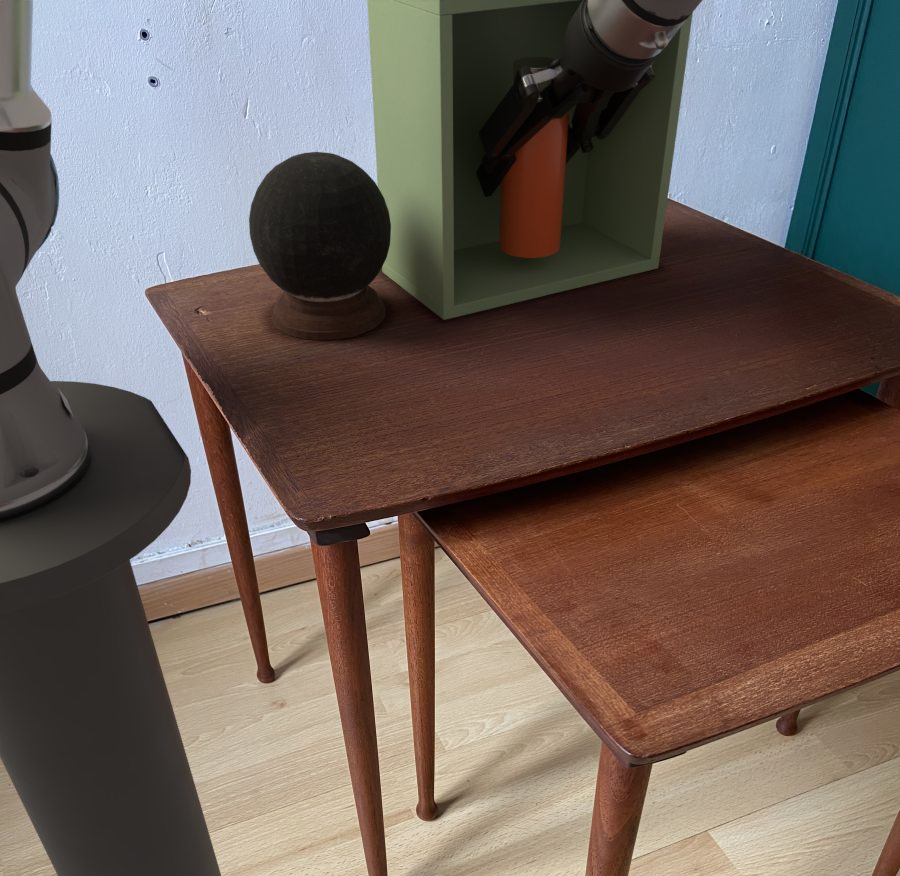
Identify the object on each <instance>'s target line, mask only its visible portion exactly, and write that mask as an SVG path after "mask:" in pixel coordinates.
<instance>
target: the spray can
mask: <svg viewBox="0 0 900 876" xmlns="http://www.w3.org/2000/svg"><path fill="white" fill-rule="evenodd" d="M553 59H554V58H547V57H528V58H521V59H518V60H515V61H514V63H513V84H514V81H515V77H516V73H517V71H518V70H519V69H520V68H521V67H523V66H529V67H530V69H531V71H532V73H537V72H540V71H543V70H546V69H547V67H548V65H549V63H550V62H551V61H552V60H553ZM559 104H560V103H559ZM568 123H569V111H568V112H567V113H566V114H565V115H564V116H563V117H562V118H553V119H552V120H551V121H550V122H549V123H548V124H546V125H545V126H544V127H543V128H542V129H541V130H540V131H539V132H538V133H537V134H535V135H534V136H533V137H532V138H531V139H530V140H529V141H528V142H527V143H526V144H524V145H523V146H522V147H521V148H520V149H519V150H518V151H517V152H516V153H515V157H516V161H515V162H514V164H513V165H512V167H511V168H510V170H509V171H508V173H507V174H506V175H505V177H504V178H503V180H502V181H501V189H500V228H499V248H500V250H501V251H503V252H504V253H506V254H508V255H512V256H516V257H522V258H539V257H546V256H550V255H552V254H555V253H556V252H558V251H559V249H560V242H561V227H562V212H563V197H564V182H565V167H566V152H567V137H568Z"/></svg>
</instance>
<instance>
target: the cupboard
mask: <svg viewBox="0 0 900 876" xmlns="http://www.w3.org/2000/svg"><path fill="white" fill-rule="evenodd" d="M366 1H367V20H368V38H369V39H368V40H369V56H370V73H371V75H370V76H371V88H372V89H371V93H372V110H373V127H374V128H373V129H374V146H375V148H374V149H375V164H376V182H377V183H376V184H377V186H378V188H379V190H380V191H381V193H382V195H383V197H384V199H385V202H386V205H387V208H388V211H389V215H390V222H391V237H390V247H389V251H388V254H387V258H386V260H385V262H384V264H383V266H382V268H381V270H382V273H383V274H384V275H386V276H387V277H388V278H389V279H391V280H392V281H393V282H394V283H396V285H399V286H400V287H401V289H403V290H405V291H406V292H407V293H409V294H410V295H411V296H413V297H414V298H415V299H416V300H417V301H419V302H420V303H421V304H423V305H424V306H425V307H427V308H428V309H429V310H430V311H432V312H433V313H434V314H435V315H437V317H439V318H441V319H442V320H443V321H446V320H449V319H453V318H458V317H462V316H466V315H471V314H474V313H479V312H483V311H487V310H492V309H496V308H499V307H504V306H508V305H511V304H516V303H520V302H524V301H525V302H526V301H529V300H533V299H537V298H540V297H546V296H549V295H554V294H557V293H562V292H565V291H571V290H574V289H579V288H582V287H587V286H591V285H594V284H599V283H604V282H607V281H611V280H615V279H620V278H625V277H628V276H633V275H637V274H640V273H645V272H649V271H652V270H657V269H659V265H660V257H661V252H662V251H661V249H662V243H663V237H664V236H663V234H664V228H665V221H666V215H667V214H666V213H667V205H668V199H669V192H670V191H669V190H670V184H671V177H672V176H671V175H672V171H673V170H672V169H673V162H674V155H675V154H674V153H675V147H676V139H677V132H678V126H679V117H680V109H681V102H682V96H683V88H684V81H685V73H686V66H687V58H688V52H689V51H688V50H689V44H690V36H691V28H692V21H693V16H694V15H693V14H694V12H693V13H692V14H691V15H690V16H689V17H688V19H686V21H685V22H684V23H683V24H682V26H681V27H680V28H679V30H678V31H677V32H676V34H675V35H674V36H673V37H672V39H671V40H670V41H669V43H668V45H667V46H666V47H665V48H664V49H663V50H662V51H661V52H660V53H659V55H658V57H657V58H656V60H655V61H654V62H653V64H652V65H651V66H652V69H653V71H654V74H655V78H654V79H653V80H652V81H651V82H650V83H649V84H647V85H646V86H645V87H644V88H643V89H642V90H641V91H640V92H639V93H638V95H637V96H636V98H635V99H634V100H633V102H632V103H631V105H630V106H629V107H628V109H627V110H626V112H625V113H624V114H623V116H622V117H621V119H620V120H619V121H618V123H617V124H616V126H615V127H614V128H613V130H612V131H611V133H610V134H609V135H608V136H607V137H606V138H604V139H600V140H599V139H598V137H597V136H595V137H592V140H591V141H592V144H593V147H594V148H593V149H592V150H591V151H590V152H588V153H582V150H581V147H580V149H579V150H578V151H577V152H576V154H575V155H574V156H573V157H572V158H571V159H570V160H569V161H568V162H567V164H566V167H565V182H564V197H563V212H562V227H561V242H560V249H559V251H558V252H556V253H555V254H552V255H550V256H546V257H539V258H522V257H516V256H512V255H508V254H506V253H504V252H503V251H501V250H500V248H499V228H500V189H501V183H500V184H499V185H498V187H497V188H496V190H495V191H494V193H493V194H492V195H491V196H487V197H485V196H484V193H483V190H482V188H481V185H480V182H479V179H478V177H477V174H476V171H477V170H478V168H479V167H480V165H481V164H482V158H483V156H484V155H485V150H484V147H483V144H482V142H481V139H480V136H479V131H480V130H481V129H482V127H483V126H484V124H485V123H486V122H487V120H488V119H489V117H490V116H491V115H492V113H493V112H494V110H495V109H496V108H497V106H498V105H499V104H500V102H501V101H502V99H503V98H504V97H505V95H506V94H507V92H508V91H509V90H510V88H511V87H512V85H513V63H514V61H515V60H518V59H521V58H528V57H547V58H556V57H557V56H558V55H559V54H560V53H561V52H562V49H563V45H564V39H565V33H566V29H567V26H568V24H569V22H570V20H571V18H572V17H573V15H574V14H575V12H576V10H577V9H578V7H579V6H580V4H581V3H582V1H583V0H366ZM576 105H577V104H576ZM576 105H575V106H574V107H573V108H572V109H571V110H569V125H570V128H572V127H573V126H572V123H571V121H572V118H573V115H574V111H575V108H576Z"/></svg>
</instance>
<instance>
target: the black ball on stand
mask: <svg viewBox="0 0 900 876" xmlns="http://www.w3.org/2000/svg"><path fill="white" fill-rule="evenodd" d="M250 204H251V205H250V210H249V215H248V216H249V217H248V225H249V238H250V241H251V246H252V250H253V253H254V256H255V257H256V260H257V261H258V264H259V265H260V267H261V268H262V270H263V271H264V273H265V274H266V275H267V276H268V278H269V279H270V280H271V282H273V283H274V284H275V285H276V286H277V287H278V288H279V289H281V290H282V292H281V293H280V294H279V295H278V296H277V298H276V300H275V302H274V304H273V305H272V306H271V310H270V313H271V318H272V319H271V320H272V324H273V325H274V327H275V328H276V329H277V330H279V331H280V332H281V333H283V334H286V335H288V336H291V337H294V338H298V339H304V340H313V341H333V340H342V339H347V338H352V337H356V336H359V335H363V334H365V333H367V332H370V331H372V330H373V329H375V328H377V327H378V326H379V325H380V324H381V323H382V322H384V319H385V317H386V304H385V301H384V300H383V298H382V297H381V296H380V295H379V293H378V292H377V290H376V289H374V288H373V287H372V286H369V285H370V284H371V283H372V282H373V281H375V279H376V277H377V276H378V275H379V273H380V272H381V270H382V266H383V264H384V262H385V260H386V258H387V254H388V251H389V247H390V237H391V222H390V215H389V211H388V208H387V205H386V202H385V199H384V197H383V195H382V193H381V191H380V190H379V188H378V184H377V183H376V181H374V179H373V178H372V177H371V176H370V175H369V173H368V172H366V171H365V170H364V169H363V168H362V167H360V166H359V165H358V164H357V163H355V162H353V160H350V159H348V158H345V157H343V156H341V155H339V154H335V153H333V152H332V153H331V152H323V151H310V152H303V153H299V154H295V155H292V156H290V157H288V158H286V159H285V160H283V161H282V162H281V161H280V162H279V163H278V164H276V165H275V166H274V167H273V168H272V169H270V171H268V173H266V175H265V176H264V178H263V179H262V181H260V183H259V185H258V187H257V188H256V190H255V194H254V196H253V199H252V201H251V203H250Z"/></svg>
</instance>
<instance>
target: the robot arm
mask: <svg viewBox="0 0 900 876" xmlns="http://www.w3.org/2000/svg"><path fill="white" fill-rule="evenodd" d="M702 2H703V0H583V1H582V3H581V4H580V6H579V7H578V9H577V10H576V12H575V14H574V15H573V17H572V18H571V20H570V22H569V24H568V26H567V29H566V33H565V39H564V45H563V49H562V52H561V53H560V54H559V55H558V56H557V57H556V58H554V59H553V60H552V61H551V62H550V63H549V65H548V67H547V69H546V70H543V71H540V72H537V73H532V71H531V69H530V67H529V66H523V67H521V68H520V69H519V70H518V71H517V73H516V77H515V81H514V84H513V85H512V87H511V88H510V90H509V91H508V92H507V94H506V95H505V97H504V98H503V99H502V101H501V102H500V104H499V105H498V106H497V108H496V109H495V110H494V112H493V113H492V115H491V116H490V117H489V119H488V120H487V122H486V123H485V124H484V126H483V127H482V129H481V130H480V131H479V136H480V139H481V142H482V144H483V147H484V150H485V155H484V156H483V158H482V164H481V165H480V167H479V168H478V170H477V171H476V174H477V177H478V179H479V182H480V185H481V188H482V190H483V193H484V196H485V197H487V196H491V195H492V194H493V193H494V191H495V190H496V188H497V187H498V185H499V184H500V183H501V181H502V180H503V178H504V177H505V175H506V174H507V173H508V171H509V170H510V168H511V167H512V165H513V164H514V162H515V161H516V157H515V153H516V152H517V151H518V150H519V149H520V148H521V147H522V146H523V145H524V144H526V143H527V142H528V141H529V140H530V139H531V138H532V137H533V136H534V135H535V134H537V133H538V132H539V131H540V130H541V129H542V128H543V127H544V126H545V125H546V124H548V123H549V122H550V121H551V120H552V119H553V118H562V117H563V116H564V115H565V114H566V113H567V112H568V111H569V110H571V109H572V108H573V107H574V106H575V105H576V104H577V105H576V108H575V111H574V115H573V118H572V121H571V123H572V126H573V127H572V128H570V125H569V123H568V137H567V152H566V164H567V162H568V161H569V160H570V159H571V158H572V157H573V156H574V155H575V154H576V152H577V151H578V150H579V149H580V147H581V150H582V153H588V152H590V151H591V150H592V149H593V148H594V147H593V144H592V141H591V140H592V137H595V136H597V137H598V139H599V140H600V139H604V138H606V137H607V136H608V135H609V134H610V133H611V131H612V130H613V128H614V127H615V126H616V124H617V123H618V121H619V120H620V119H621V117H622V116H623V114H624V113H625V112H626V110H627V109H628V107H629V106H630V105H631V103H632V102H633V100H634V99H635V98H636V96H637V95H638V93H639V92H640V91H641V90H642V89H643V88H644V87H645V86H646V85H647V84H649V83H650V82H651V81H652V80H653V79H654V78H655V74H654V71H653V69H652V66H651V65H652V64H653V62H654V61H655V60H656V58H657V57H658V55H659V53H660V52H661V51H662V50H663V49H664V48H665V47H666V46H667V45H668V43H669V41H670V40H671V39H672V37H673V36H674V35H675V34H676V32H677V31H678V30H679V28H680V27H681V26H682V24H683V23H684V22H685V21H686V19H688V17H689V16H690V15H691V14H692V13H693V14H694V11H696V9H697V8H698V7H699V5H700V4H701V3H702ZM33 15H34V0H0V522H3V521H7V520H11V519H14V518H17V517H20V516H23V515H26V514H28V513H31V512H33V511H36V510H38V509H40V508H42V507H44V506H46V505H48V504H50V503H52V502H53V501H55V500H57V499H58V498H60V497H61V496H63V495H64V494H65V493H67V492H68V491H69V490H71V489H72V488H73V487H74V486H75V485H76V484H77V483H78V482H79V481H80V480H81V479H82V477H83V476H84V475H85V473H86V472H87V470H88V468H89V465H90V462H91V450H90V446H89V443H88V440H87V436H86V433H85V431H84V429H83V427H82V425H81V423H80V421H79V420H78V418H77V417H76V416H75V414H74V413H73V412H72V410H71V409H70V406H69V403H68V401H67V399H66V398H65V396H64V395H63V394H62V392H61V391H60V389H59V391H60V394H61V395H60V394H59V392H58V391H57V390H56V388H55V387H54V386H53V384H52V383H51V382H50V381H51V380H50V378H49V377H48V376H47V375H46V373H45V372H44V370H43V369H42V368H41V365H40V364H39V361H38V357H37V354H36V352H35V349H34V346H33V342H32V339H31V336H30V332H29V329H28V327H27V323H26V320H25V317H24V314H23V310H22V307H21V303H20V301H19V297H18V294H17V285H18V284H19V282H20V280H21V279H22V277H23V276H24V273H25V271H26V270H27V268H28V266H29V265H30V264H31V261H32V260H33V258H34V257H35V254H36V253H37V252H38V251H39V250H40V248H41V247H42V246H43V245H44V244H45V242H46V241H47V239H48V238H49V236H50V235H51V232H52V227H53V226H55V223H56V220H57V218H58V217H57V216H58V212H59V206H60V183H59V176H58V170H57V166H56V163H55V161H54V158H53V155H52V154H51V153H52V152H51V150H52V123H53V121H52V120H53V119H52V112H51V109H50V108H49V106H48V105H47V104H46V103H45V102H44V101H43V99H42V98H41V97H40V95H39V94H38V93H37V92H36V91H35V89H34V87H33V86H32V56H33V55H32V54H33V53H32V52H33V23H34V21H33V20H34V17H33ZM559 103H560V104H559ZM61 396H62V397H61Z"/></svg>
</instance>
